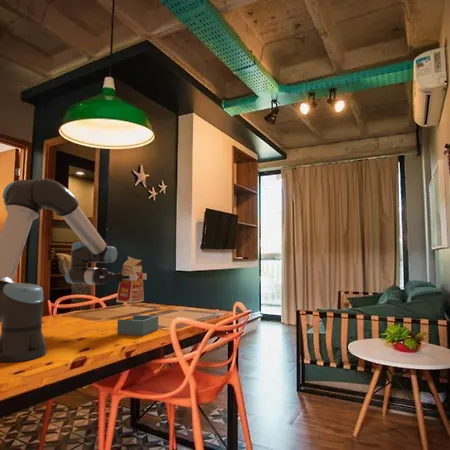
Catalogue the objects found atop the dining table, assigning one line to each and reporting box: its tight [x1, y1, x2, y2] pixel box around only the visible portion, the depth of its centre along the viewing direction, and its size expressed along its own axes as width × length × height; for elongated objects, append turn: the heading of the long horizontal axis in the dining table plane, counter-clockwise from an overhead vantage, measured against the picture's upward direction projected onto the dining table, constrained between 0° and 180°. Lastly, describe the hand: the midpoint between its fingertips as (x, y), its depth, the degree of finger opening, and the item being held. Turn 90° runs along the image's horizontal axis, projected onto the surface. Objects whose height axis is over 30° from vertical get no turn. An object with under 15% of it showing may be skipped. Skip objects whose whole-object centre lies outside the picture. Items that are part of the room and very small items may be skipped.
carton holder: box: [116, 314, 159, 337], centre depth 153 cm, size 12×13×6 cm
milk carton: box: [116, 256, 145, 304], centre depth 158 cm, size 9×9×20 cm
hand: (141, 276), depth 156 cm, fingers closed on milk carton, 8 cm apart
